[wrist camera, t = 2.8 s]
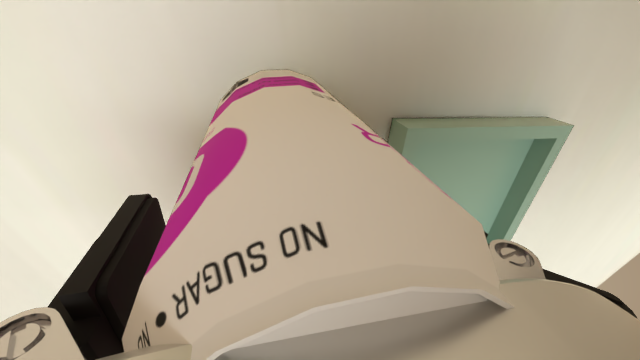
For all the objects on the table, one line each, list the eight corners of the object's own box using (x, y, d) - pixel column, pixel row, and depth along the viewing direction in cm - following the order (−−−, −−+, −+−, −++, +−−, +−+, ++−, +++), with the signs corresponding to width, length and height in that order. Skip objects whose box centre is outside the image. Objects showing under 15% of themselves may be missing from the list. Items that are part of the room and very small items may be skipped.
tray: (546, 116, 22) (574, 125, 20) (484, 243, 29) (500, 258, 27) (392, 118, 19) (407, 128, 17) (364, 259, 26) (373, 277, 24)
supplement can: (197, 164, 17) (45, 541, 5) (243, 39, 14) (176, 132, 2) (305, 199, 21) (389, 476, 8) (360, 104, 18) (632, 299, 5)
